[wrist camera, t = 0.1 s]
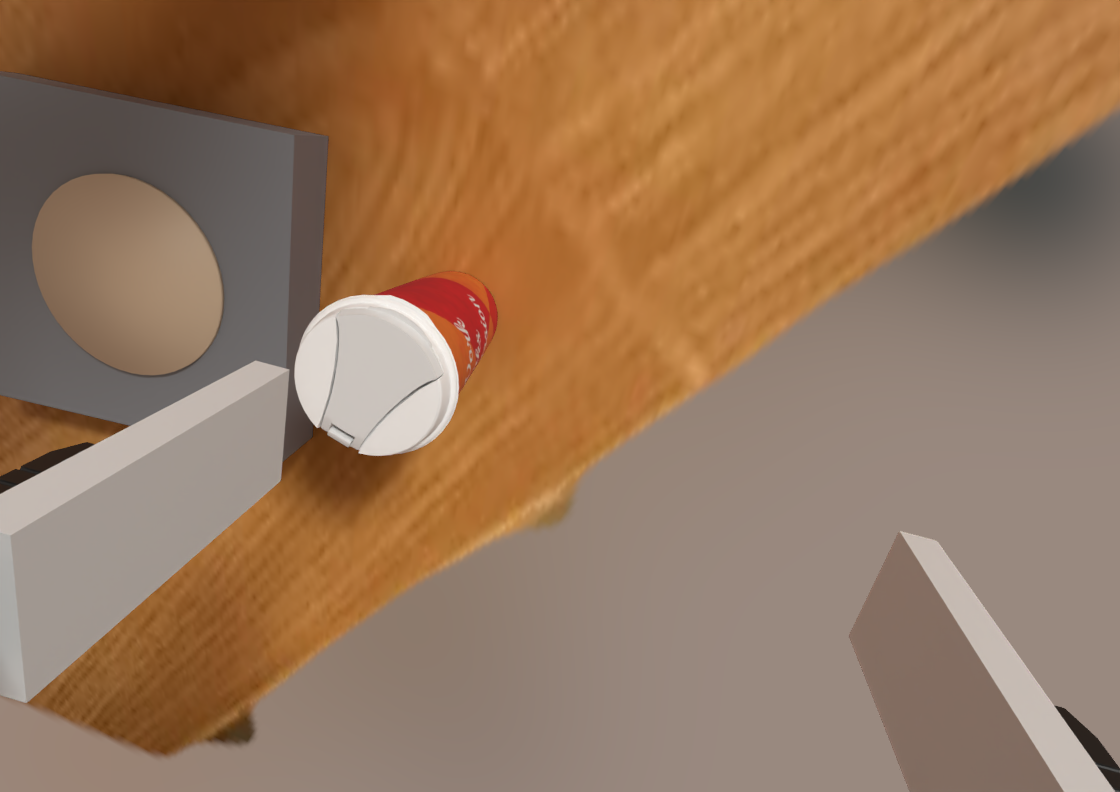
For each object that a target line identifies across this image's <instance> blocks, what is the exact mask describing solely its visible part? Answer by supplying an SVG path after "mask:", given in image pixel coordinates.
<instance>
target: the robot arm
mask: <svg viewBox="0 0 1120 792" xmlns="http://www.w3.org/2000/svg"><path fill="white" fill-rule="evenodd" d="M288 382H289V369H285V368H282V367H278V366H274V365H270V364H267V363H263V362H259V361H254V362H252V363H250V364H248V365H246V366H244V367H242V368H240V369H239V370H237V371H235V372H233V373H231V374H229V375H227V376H225V377H223V378H221V379H219V380H218V381H216V382H214V383H212V384H210V385H208V386H206V387H204V388H202V389H200V390H198V391H196V392H195V393H193V394H191V395H189V396H187V397H185V398H183V399H181V400H179V401H177V402H175V403H174V404H172V405H170V406H168V407H166V408H164V409H162V410H160V411H158V412H156V413H154V414H152V415H151V416H149V417H147V418H145V419H143V420H141V421H139V422H137V423H135V424H133V425H131V426H129V427H128V428H126V429H124V430H122V431H120V432H118V433H116V434H114V435H112V436H110V437H108V438H107V439H105V440H103V441H101V442H99V443H97V444H92V443H88V442H86V443H82V444H78V445H74V446H70V447H67V448H63V449H59V450H55V451H51V452H49V453H47V454H45V455H43V456H41V457H39V458H37V459H35V460H33V461H31V462H29V463H27V464H25V465H23V466H21V469H20V470H17V469H15V470H13V471H11V472H9V473H7V474H5V475H3V476H0V695H1V696H4V697H7V698H11V699H14V700H17V701H21V702H24V703H27V702H28V701H30V700H31V699H32V698H33V697H34V696H35V695H36V694H38V693H39V692H40V691H41V690H42V689H43V688H44V687H46V686H47V685H48V684H49V683H50V682H51V681H52V680H54V679H55V678H56V677H57V676H58V675H59V674H60V673H62V672H63V671H64V670H65V669H66V668H67V667H68V666H70V665H71V664H72V663H73V662H74V661H75V660H76V659H78V658H79V657H80V656H81V655H82V654H83V653H84V652H86V651H87V650H88V649H89V648H90V647H91V646H92V645H94V644H95V643H96V642H97V641H98V640H99V639H100V638H102V637H103V636H104V635H105V634H106V633H107V632H108V631H110V630H111V629H112V628H113V627H114V626H115V625H116V624H118V623H119V622H120V621H121V620H122V619H123V618H124V617H126V616H127V615H128V614H129V613H130V612H131V611H132V610H134V609H135V608H136V607H137V606H138V605H139V604H140V603H142V602H143V601H144V600H145V599H146V598H147V597H148V596H150V595H151V594H152V593H153V592H154V591H155V590H156V589H158V588H159V587H160V586H161V585H162V584H163V583H164V582H166V581H167V580H168V579H169V578H170V577H171V576H172V575H174V574H175V573H176V572H177V571H178V570H179V569H180V568H182V567H183V566H184V565H185V564H186V563H187V562H188V561H190V560H191V559H192V558H193V557H194V556H195V555H196V554H198V553H199V552H200V551H201V550H202V549H203V548H204V547H206V546H207V545H208V544H209V543H210V542H211V541H212V540H214V539H215V538H216V537H217V536H218V535H219V534H220V533H222V532H223V531H224V530H225V529H226V528H227V527H228V526H230V525H231V524H232V523H233V522H234V521H235V520H236V519H238V518H239V517H240V516H241V515H242V514H243V513H244V512H246V511H247V510H248V509H249V508H250V507H251V506H252V505H254V504H255V503H256V502H257V501H258V500H259V499H260V498H262V497H263V496H264V495H265V494H266V493H267V492H268V491H270V490H271V489H272V488H273V487H274V486H275V485H276V484H278V483H279V482H280V481H281V473H282V460H283V447H284V434H285V421H286V408H287V395H288ZM849 638H850V640H851V643H852V645H853V648H854V650H855V653H856V655H857V658H858V661H859V663H860V666H861V668H862V671H863V673H864V676H865V679H866V681H867V684H868V686H869V689H870V691H871V694H872V697H873V699H874V702H875V704H876V707H877V709H878V712H879V715H880V717H881V720H882V722H883V724H884V727H885V730H886V732H887V735H888V737H889V740H890V742H891V745H892V748H893V750H894V753H895V755H896V758H897V761H898V763H899V765H900V768H901V771H902V773H903V776H904V779H905V781H906V783H907V786H908V789H909V791H910V792H1120V768H1119V767H1118V765H1117V764H1116V763H1115V761H1114V760H1113V759H1112V757H1111V756H1110V755H1109V753H1108V752H1107V751H1106V749H1105V748H1104V747H1103V745H1102V744H1101V743H1100V741H1099V740H1098V738H1096V737H1095V736H1094V735H1093V734H1092V733H1091V732H1090V731H1089V730H1088V729H1087V728H1086V727H1085V726H1083V725H1082V724H1081V723H1080V722H1079V721H1078V720H1077V719H1076V718H1074V716H1072V715H1071V714H1070V713H1069V712H1068V711H1067V710H1066V709H1064V708H1062V707H1058V706H1054V705H1053V704H1052V702H1051V701H1050V699H1049V698H1048V697H1047V695H1046V694H1045V692H1044V691H1043V689H1042V688H1041V687H1040V685H1039V684H1038V682H1037V681H1036V680H1035V678H1034V677H1033V675H1032V674H1031V673H1030V671H1029V670H1028V668H1027V667H1026V666H1025V664H1024V663H1023V661H1022V660H1021V659H1020V657H1019V656H1018V654H1017V653H1016V652H1015V650H1014V649H1013V647H1012V646H1011V644H1010V643H1009V642H1008V640H1007V639H1006V637H1005V636H1004V635H1003V633H1002V632H1001V630H1000V629H999V628H998V626H997V625H996V623H995V622H994V621H993V619H992V618H991V616H990V615H989V613H988V612H987V611H986V609H985V608H984V606H983V605H982V604H981V602H980V601H979V599H978V598H977V597H976V595H975V594H974V592H973V591H972V590H971V588H970V587H969V585H968V584H967V582H966V581H965V580H964V578H963V577H962V575H961V574H960V573H959V571H958V570H957V568H956V567H955V566H954V564H953V563H952V561H951V560H950V559H949V557H948V556H947V554H946V553H945V552H944V550H943V549H942V547H941V546H940V544H939V543H938V542H937V541H936V540H932V539H928V538H925V537H921V536H917V535H913V534H910V533H905V532H902V531H899V533H898V535H897V537H896V539H895V541H894V543H893V545H892V547H891V550H890V551H889V553H888V556H887V558H886V560H885V562H884V564H883V566H882V568H881V570H880V573H879V574H878V576H877V578H876V581H875V583H874V585H873V587H872V589H871V591H870V593H869V595H868V597H867V599H866V601H865V603H864V605H863V608H862V610H861V612H860V614H859V616H858V618H857V620H856V622H855V624H854V626H853V628H852V630H851V632H850V634H849Z"/></svg>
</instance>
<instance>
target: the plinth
mask: <svg viewBox="0 0 1120 792" xmlns="http://www.w3.org/2000/svg"><path fill="white" fill-rule="evenodd" d="M327 154H328V136H324V135H319V134H314V133H309V132H304V131H299V130H295V129H290V128H285V127H280V126H275V125H270V124H265V123H260V122H255V121H250V120H245V119H240V118H235V117H230V116H226V115H221V114H216V113H211V112H206V111H201V110H196V109H191V108H186V107H181V106H176V105H171V104H166V103H161V102H157V101H152V100H147V99H142V98H137V97H132V96H127V95H122V94H117V93H112V92H107V91H102V90H97V89H92V88H88V87H83V86H78V85H73V84H68V83H63V82H58V81H53V80H48V79H43V78H38V77H33V76H28V75H24V74H19V73H11V72H2V71H0V395H2V396H6V397H11V398H15V399H19V400H23V401H28V402H32V403H36V404H40V405H45V406H49V407H53V408H57V409H62V410H66V411H70V412H74V413H78V414H83V415H87V416H91V417H95V418H100V419H104V420H108V421H112V422H117V423H121V424H125V425H129V426H131V425H133V424H135V423H137V422H139V421H141V420H143V419H145V418H147V417H149V416H151V415H152V414H154V413H156V412H158V411H160V410H162V409H164V408H166V407H168V406H170V405H172V404H174V403H175V402H177V401H179V400H181V399H183V398H185V397H187V396H189V395H191V394H193V393H195V392H196V391H198V390H200V389H202V388H204V387H206V386H208V385H210V384H212V383H214V382H216V381H218V380H219V379H221V378H223V377H225V376H227V375H229V374H231V373H233V372H235V371H237V370H239V369H240V368H242V367H244V366H246V365H248V364H250V363H252V362H254V361H259V362H263V363H267V364H270V365H274V366H278V367H282V368H285V369H289V382H288V395H287V408H286V421H285V434H284V447H283V460H282V462H283V461H284V460H286V459H287V458H288V457H289V456H290V455H292V454H293V453H294V452H295V451H296V450H298V449H299V448H300V447H301V446H302V445H304V444H305V443H306V442H307V441H308V440H310V439H311V438H312V437H313V423H312V422H311V420H310V419H309V417H308V416H307V414H306V413H305V411H304V409H303V407H302V405H301V403H300V400H299V397H298V394H297V391H296V385H295V378H294V372H295V361H296V355H297V352H298V350H299V346H300V343H301V340H302V337H303V334H304V332H305V330H306V329H307V327H308V325H309V324H310V322H311V321H312V320H313V319H314V318H315V316H316V315H317V314H318V313H319V305H320V286H321V267H322V248H323V229H324V210H325V192H326V173H327Z"/></svg>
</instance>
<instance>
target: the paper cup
mask: <svg viewBox="0 0 1120 792" xmlns="http://www.w3.org/2000/svg"><path fill="white" fill-rule="evenodd" d="M497 319H498V316H497V308H496V304H495V301H494V299H493V297H492V295H491V293H490V292H489V290H488V289H487V288H486V287H485V286H484V285H483V284H482V283H481V282H480V281H479V280H477V279H476V278H474V277H472V276H470V275H468V274H465V273H462V272H456V271H446V272H440V273H436V274H433V275H429V276H426V277H423V278H420V279H418V280H415V281H412V282H409V283H406V284H403V285H401V286H398V287H395V288H392V289H389V290H387V291H384V292H381V293H378V294H376V295H358V296H351V297H347V298H344V299H341V300H338V301H336V302H334V303H333V304H331V305H329V306H327V307H326V308H324V309H323V310H322V311H321V312H319V313H318V314H317V315H316V316H315V318H314V319H313V320H312V321H311V322H310V324H309V325H308V327H307V329H306V330H305V332H304V334H303V337H302V340H301V343H300V346H299V350H298V352H297V355H296V361H295V372H294V378H295V385H296V391H297V394H298V397H299V400H300V403H301V405H302V407H303V409H304V411H305V413H306V414H307V416H308V417H309V419H310V420H311V422H312V423H313V424H314V425H315V426H316V427H317V428H319V427H321V428H322V429H323V430H325V431H327V432H328V433H327V435H328V436H330V437H331V438H333V439H335V440H336V441H338V442H340V443H341V444H343V445H345V446H346V447H349V446H350V447H353V448H355V449H356V450H360V451H359V453H360V454H365V455H372V456H386V455H393V454H402V453H406V452H410V451H414V450H416V449H418V448H421V447H423V446H425V445H426V444H428V443H429V442H431V441H432V440H434V439H435V438H436V437H437V436H438V435H439V434H440V433H441V432H442V431H443V430H444V428H445V427H446V426H447V424H448V423H449V421H450V419H451V417H452V415H453V413H454V411H455V408H456V404H457V401H458V395H459V393H460V391H461V390H462V388H463V387H464V385H465V383H466V382H467V380H468V379H469V377H470V375H471V374H472V372H473V371H474V369H475V367H476V366H477V364H478V362H479V361H480V359H481V358H482V356H483V354H484V352H485V351H486V349H487V347H488V346H489V344H490V342H491V340H492V338H493V336H494V333H495V331H496V327H497Z"/></svg>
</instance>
